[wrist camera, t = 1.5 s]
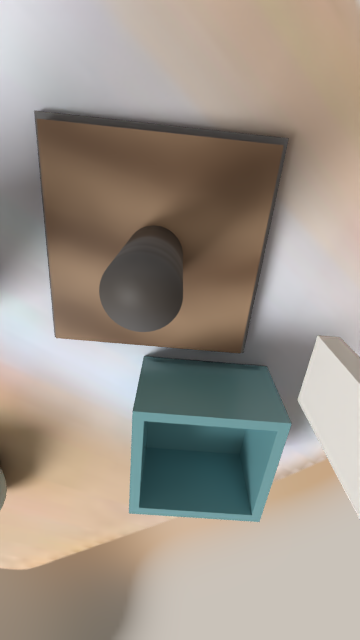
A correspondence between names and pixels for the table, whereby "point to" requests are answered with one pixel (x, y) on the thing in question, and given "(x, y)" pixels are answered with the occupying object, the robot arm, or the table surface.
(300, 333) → the table surface
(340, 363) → the robot arm
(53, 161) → the lid
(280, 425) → the teal storage bin
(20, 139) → the table surface
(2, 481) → the air freshener
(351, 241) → the table surface
